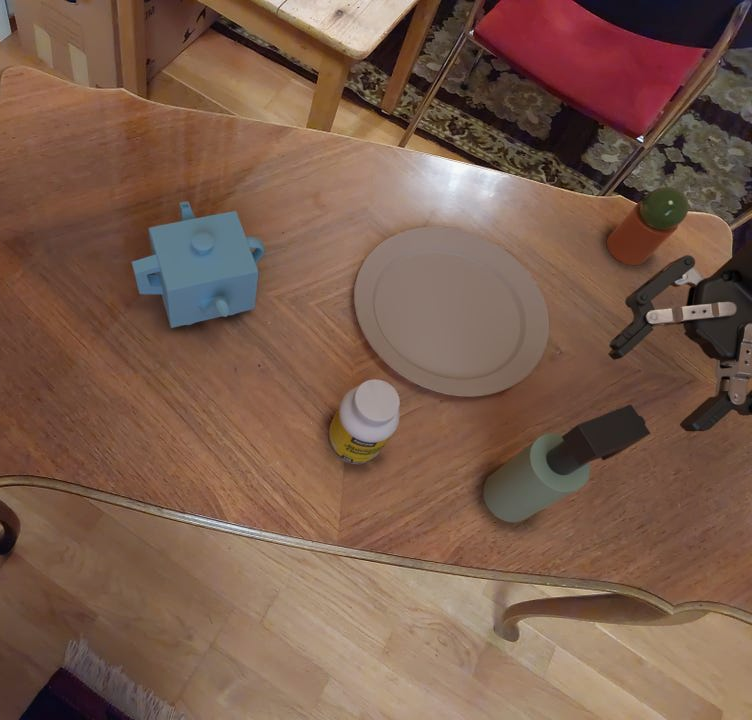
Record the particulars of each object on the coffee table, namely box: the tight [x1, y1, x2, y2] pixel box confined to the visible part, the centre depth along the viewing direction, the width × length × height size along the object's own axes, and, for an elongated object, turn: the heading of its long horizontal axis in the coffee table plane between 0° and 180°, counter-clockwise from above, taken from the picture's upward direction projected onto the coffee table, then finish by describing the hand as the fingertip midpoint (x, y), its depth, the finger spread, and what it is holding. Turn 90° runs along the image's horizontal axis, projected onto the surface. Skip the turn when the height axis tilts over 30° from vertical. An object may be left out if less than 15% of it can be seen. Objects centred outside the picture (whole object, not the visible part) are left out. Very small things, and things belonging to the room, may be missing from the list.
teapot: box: [131, 200, 266, 329], centre depth 79 cm, size 16×18×11 cm
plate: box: [353, 226, 550, 397], centre depth 85 cm, size 26×26×2 cm
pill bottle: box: [327, 378, 401, 465], centre depth 72 cm, size 6×6×12 cm
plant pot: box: [606, 186, 690, 266], centre depth 89 cm, size 6×6×11 cm
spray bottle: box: [482, 404, 651, 523], centre depth 67 cm, size 8×6×20 cm
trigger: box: [600, 440, 641, 461], centre depth 65 cm, size 1×3×5 cm, turn 21°
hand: (650, 392), depth 57 cm, fingers open, 8 cm apart
